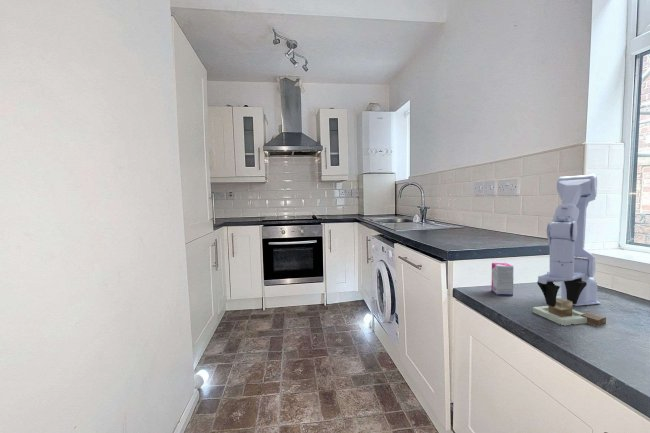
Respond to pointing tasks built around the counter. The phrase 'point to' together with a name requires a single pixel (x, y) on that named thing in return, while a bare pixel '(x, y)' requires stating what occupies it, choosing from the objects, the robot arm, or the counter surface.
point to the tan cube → (561, 307)
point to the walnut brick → (594, 319)
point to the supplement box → (502, 279)
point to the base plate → (568, 320)
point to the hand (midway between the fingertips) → (561, 304)
